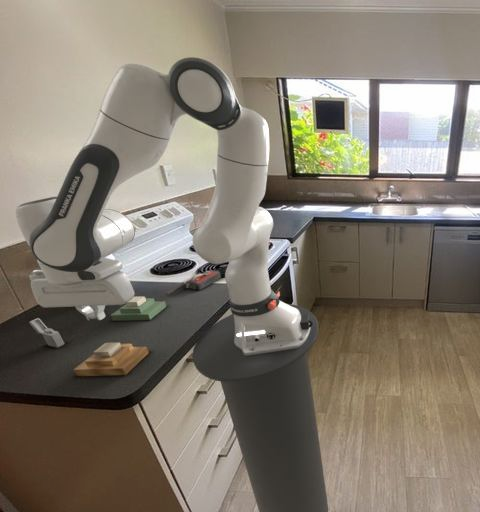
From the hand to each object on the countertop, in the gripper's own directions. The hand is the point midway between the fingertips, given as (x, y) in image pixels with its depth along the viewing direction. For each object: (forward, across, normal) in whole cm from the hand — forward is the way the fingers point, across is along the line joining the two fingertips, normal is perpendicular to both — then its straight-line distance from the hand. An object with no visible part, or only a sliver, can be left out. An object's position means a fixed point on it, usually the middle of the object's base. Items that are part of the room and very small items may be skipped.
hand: (97, 318), depth 71 cm
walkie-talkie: (+14, -3, +42) cm, 44 cm away
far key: (+10, -11, +23) cm, 28 cm away
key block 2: (+14, 0, -1) cm, 14 cm away
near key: (+10, 0, -1) cm, 10 cm away
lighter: (+13, -25, +8) cm, 30 cm away
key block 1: (+13, -11, +23) cm, 29 cm away
